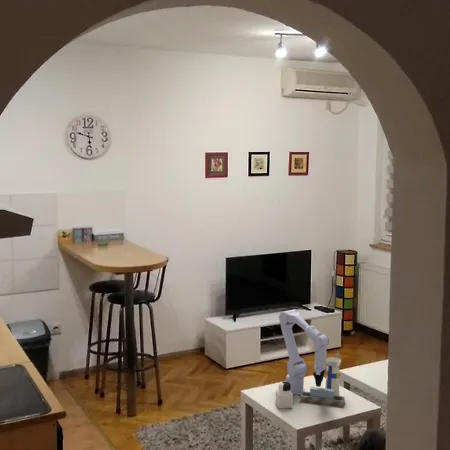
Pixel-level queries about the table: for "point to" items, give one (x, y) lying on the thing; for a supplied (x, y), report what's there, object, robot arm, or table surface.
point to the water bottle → (333, 374)
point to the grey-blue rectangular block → (322, 393)
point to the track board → (322, 400)
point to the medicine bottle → (284, 395)
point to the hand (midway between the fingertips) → (319, 383)
